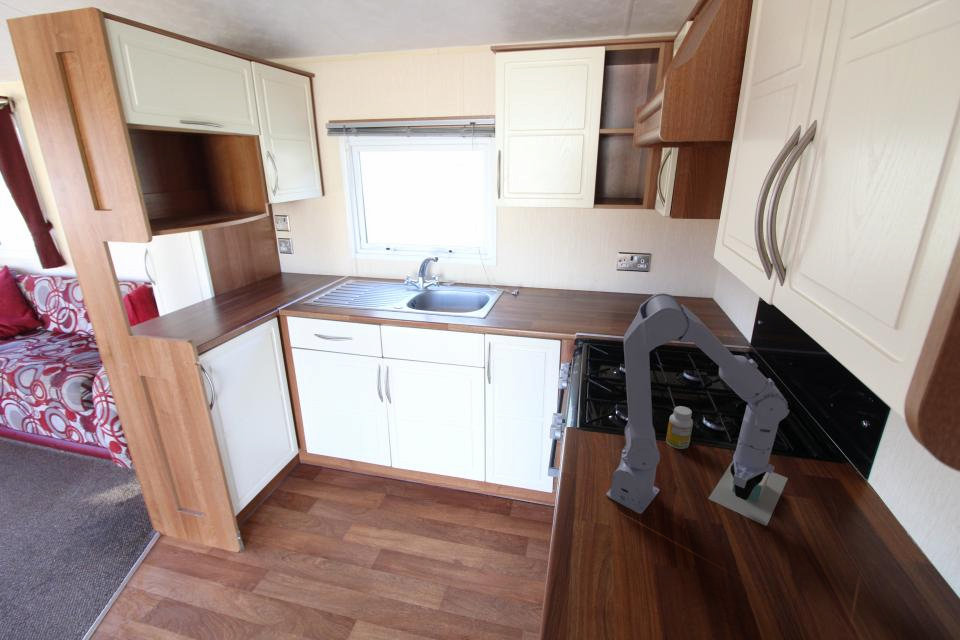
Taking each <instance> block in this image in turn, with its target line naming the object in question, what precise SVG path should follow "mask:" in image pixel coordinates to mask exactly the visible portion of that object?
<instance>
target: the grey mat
mask: <svg viewBox="0 0 960 640" xmlns="http://www.w3.org/2000/svg"><path fill="white" fill-rule="evenodd" d="M733 463H734V462H733V460H732V461H731V462H730V463H729V466H728V467H727V469H726V470H725V472H724V473H723V475H722V477H721V478H720V480H719V481H718V483H717V484H716V486H715V487H714V489H713V490H712V492H711V493H710V495H709V497H708V498H707V499H708V500H709V501H711V502H713V503H716V504H719V505H720V506H722V507H725V508H726V509H728V510H731V511H733V512H735V513H738V514H740V515H741V516H744V517H746V518H748V519H750V520H752V521H755V522H756V523H759V524H761V525H763V526H764V527H767V526H768V523H769V521H770V519H771V517H772V515H773V513H774V510H775V508H776V505H777V504H778V502H779V499H780V497H781V495H782V493H783V491H784V488H785V485H786V484H787V481H788V479H789V478H788V477H786V476H783V475H780V474H779V473H776V472H774V471H773V473H769V477H768V481H767V484H766V487H765V489H764V491H763V493H762V495H761V497H760V499H759V501H758V502H756V501H754V500H751V499H749V498H748V499H747V500H743V499H741V498H739V497H737V496H736V495H735V492H733V491H732V489H733V485H734V484H733V479H734V478H733V475H732V473H731V471H730V468H731V466H732V464H733Z"/></svg>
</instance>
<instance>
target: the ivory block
mask: <svg viewBox="0 0 960 640" xmlns="http://www.w3.org/2000/svg"><path fill="white" fill-rule="evenodd" d="M763 477H764V478H763V479H762V481H761V482H760V483H759V484H758V485H756V486H755V487H754V488H753V490H752V492H751V494H750V496H749V499H751V500H754V501H756V502H758V501H759V499H760V497H761V495H762V493H763V491H764V489H765V487H766V484H767V481H768V477H769V473H768V472H766V474H765V476H763ZM732 491H733V492H735V484H734V485H733V489H732Z"/></svg>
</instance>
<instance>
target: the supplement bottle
mask: <svg viewBox="0 0 960 640" xmlns="http://www.w3.org/2000/svg"><path fill="white" fill-rule="evenodd" d="M692 414H693V412H692V410H691V409H690V408H689V407H686V406H683V405H682V406H681V405H679V406H676V407H674V409H673V413H672V414H671V415H670V416H669V419H668V420H669V421H668V425H667V432H666V438H665V441H666V443H667V444H668V445H669V446H670V447H672V448H676V449H679V450H680V449H681V450H683V449H687V448H689V446H690V442H691V436H692V432H693V431H692V430H693V426H694V421H693V419H692V418H691V417H692Z"/></svg>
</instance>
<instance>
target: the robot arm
mask: <svg viewBox="0 0 960 640" xmlns="http://www.w3.org/2000/svg"><path fill="white" fill-rule="evenodd" d="M677 339H678V342H679V343H691V342H692V343H694V345H695V346H696V347H698V348H699V349H700V350H701V351H702V352H703V353H704V354H705V355H706V356H707V357H709V359H710V360H711V361H713V362H714V363H715V364H716V365H718V376H719V379H721V380H722V381H723V382H724V383H726V385H727V386H728V387H730V389H732V391H734V392H735V394H736V395H737V396H738V397H739V398H740V399H741V400H743V401H745V402H746V403H747V404H746V408H745V411H744V415H743V419H742V424H741V428H740V432H739V435H738V440H737V444H736V448H735V452H734V453H733V456H732V461H733V462H734V463H733V464H732V466H731V468H730V471H731V473H732V475H733V478H734V479H733V484H735V495H736V496H737V497H739V498H741V499H743V500H747V499H748V498H749V496H750V494H751V492H752V490H753V488H754V487H755V486H756V485H758V484H759V483H760V482H761V481H762V479H763V478H764V477H763V476H765V474H766V472H768V473H773V472H774V470H775V466H774V465H773V464H770V463H769V461H770V457H771V453H772V450H773V446H774V442H775V439H776V435H777V432H778V428H779V424H780V422H781V421H782V420H784V419H785V418H787V416H788V414H789V413H790V411H791V410H790V409H789V405H788V401H787V399H786V398H785V397H784V395H783V394H782V393H781V392H780V390H779V389H778V387H777V386H776V385H775V384H776V383H775V381H773V379H772V378H771V377H769V378H767V377H766V376H765V375H764V374H763V373H762V372H761V371H760V370H759V369H758V367H759V365H758V363H757V362H756V361H755V360H754V359H753V358H750V359H748V358H747V357H746V356H743V355H738V354H737V355H735V354H733V353H732V352H730V350H729V349H728V348H727V347H726V346H725V345H724V344H723V343H722V342H721V340H720V339H719V338H718V337H717V336H716V335H715V334H714V333H713V332H712V331H711V330H710V329H709V328H708V326H706V324H704V322H703V321H702V320H701V319H700V318H699V317H698V316H697V315H695V314H694V313H693V312H692V311H691V310H690V309H689V308H688V307H686V306H685V305H684V304H682V303H681V304H680V305H679V301H678V300H677V299H676V297H675V296H673V295H672V294H668V293H664V292H663V293H660V292H659V293H657V294H656V293H655V294H654V295H652V296H651V297H648V298H647V300H645V301H644V302H642V303H641V304H640V305H639V309H638V311H637V314H636V316H635V317H634V319H633V320H632V322H631V324H630V325H629V326H628V328H627V330H626V331H625V333H624V335H623V353H624V369H625V385H626V399H627V414H628V415H627V419H628V420H627V423H626V426H625V427H624V437H625V443H626V444H625V446H624V447H623V448H622V451H621V456H620V463H619V465H618V467H617V468H616V470H615V471H614V472H613V474H612V480H611V487H610V489H609V490H608V491H607V492H606V494H605V495H606V497H607V498H609V499H611V500H613V501H615V502H616V503H619V504H620V505H623V506H624V507H626V508H628V509H629V510H632V511H634V512H635V513H637V514H640V515H641V514H643V512H644V511H645V510H646V509H647V507H649V505H650V504H651V502H652V501H653V500H654V499H655V498H656V496H657V495H658V494H659V493H660V489H659V487H657V486H655V485H654V484H655V478H656V472H657V467H658V465H659V463H660V461H661V455H660V454H661V453H660V451H659V449H658V443H657V440H656V439H657V438H656V430H655V427H654V426H653V410H652V389H651V388H652V387H651V385H652V384H651V367H650V365H651V364H650V352H651V351H653V350H654V349H656V347H657V348H658V347H659V346H662V345H665V344H668V343H670V342H673V341H675V340H677Z"/></svg>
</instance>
